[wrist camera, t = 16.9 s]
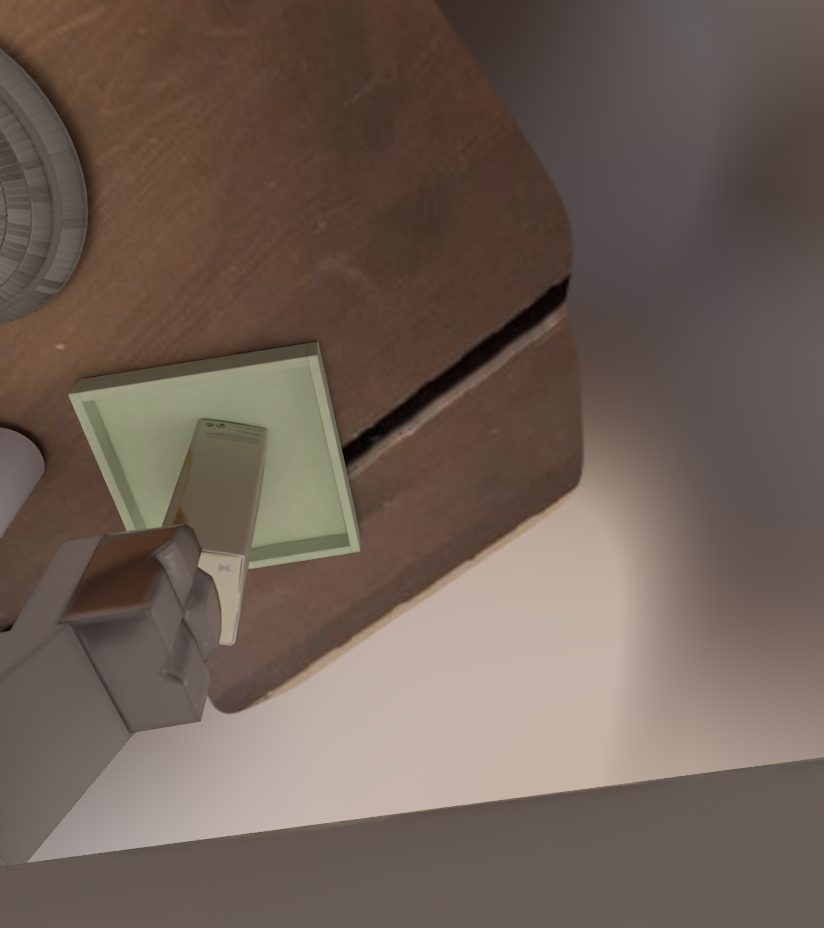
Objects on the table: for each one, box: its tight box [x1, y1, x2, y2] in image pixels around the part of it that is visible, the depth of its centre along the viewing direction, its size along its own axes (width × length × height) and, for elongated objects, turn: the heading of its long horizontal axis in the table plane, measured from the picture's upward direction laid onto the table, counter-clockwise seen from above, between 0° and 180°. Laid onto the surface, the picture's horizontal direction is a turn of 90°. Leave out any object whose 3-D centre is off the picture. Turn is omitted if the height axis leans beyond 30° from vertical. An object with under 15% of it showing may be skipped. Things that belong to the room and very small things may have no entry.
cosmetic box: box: [161, 420, 268, 645], centre depth 40 cm, size 6×4×12 cm
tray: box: [68, 342, 360, 569], centre depth 45 cm, size 14×14×2 cm
